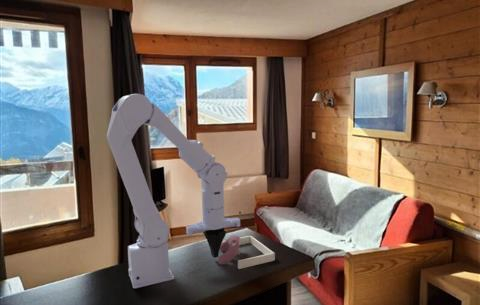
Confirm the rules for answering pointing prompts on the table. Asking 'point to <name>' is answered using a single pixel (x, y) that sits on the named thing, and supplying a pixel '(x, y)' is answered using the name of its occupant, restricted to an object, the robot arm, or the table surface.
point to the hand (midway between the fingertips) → (214, 255)
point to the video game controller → (229, 249)
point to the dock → (258, 259)
